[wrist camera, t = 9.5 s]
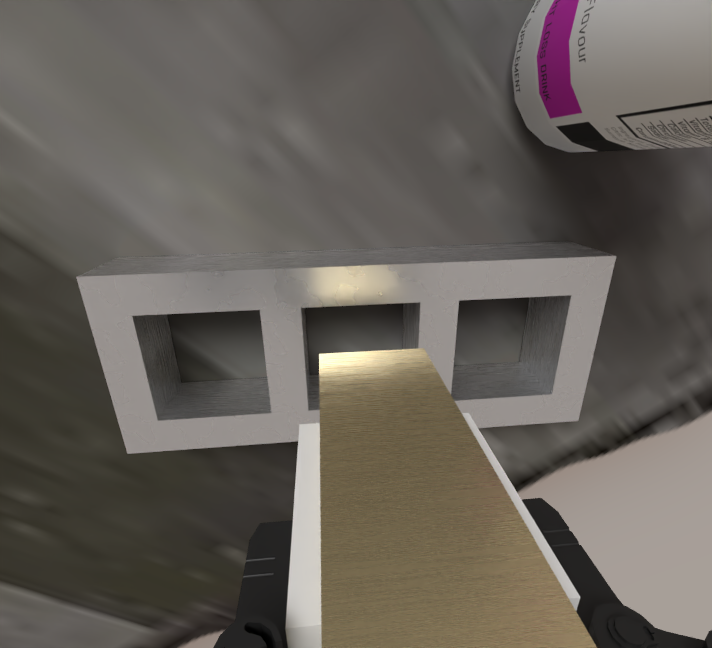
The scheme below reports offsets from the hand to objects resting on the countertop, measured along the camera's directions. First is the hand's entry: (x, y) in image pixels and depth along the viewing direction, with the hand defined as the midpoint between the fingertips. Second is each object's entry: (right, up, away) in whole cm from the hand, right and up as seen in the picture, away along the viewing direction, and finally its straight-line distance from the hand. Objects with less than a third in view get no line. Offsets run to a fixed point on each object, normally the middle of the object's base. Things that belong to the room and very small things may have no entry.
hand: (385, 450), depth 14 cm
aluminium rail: (-1, +4, +10) cm, 11 cm away
